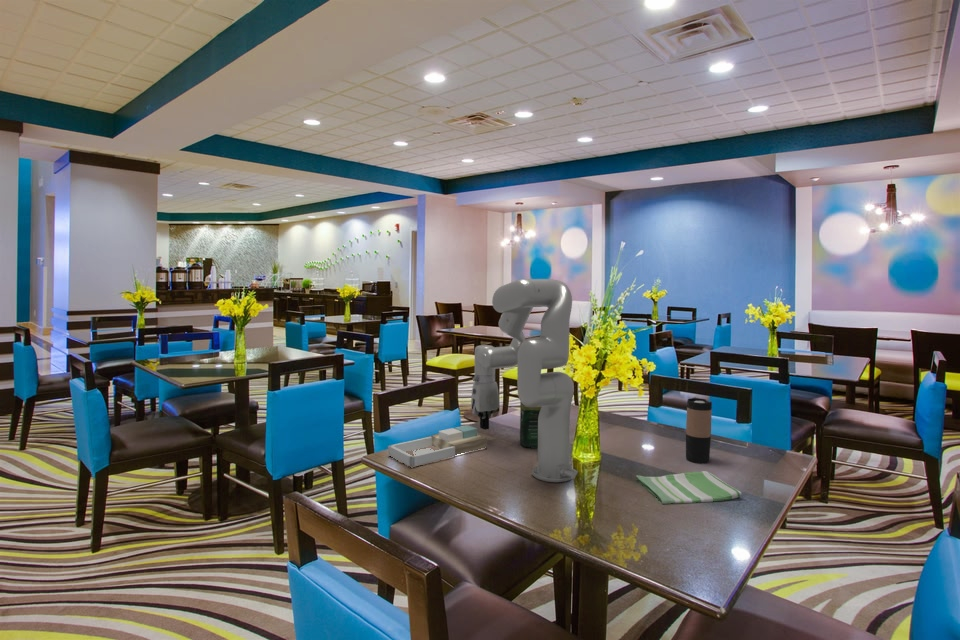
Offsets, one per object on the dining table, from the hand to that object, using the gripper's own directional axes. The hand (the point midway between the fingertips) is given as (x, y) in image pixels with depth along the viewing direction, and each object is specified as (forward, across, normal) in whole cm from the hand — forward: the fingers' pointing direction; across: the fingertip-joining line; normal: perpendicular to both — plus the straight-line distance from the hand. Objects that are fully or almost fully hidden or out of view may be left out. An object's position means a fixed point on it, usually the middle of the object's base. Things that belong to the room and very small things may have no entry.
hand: (484, 428), depth 192 cm
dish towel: (+6, +17, -70) cm, 72 cm away
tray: (+5, -27, 0) cm, 28 cm away
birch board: (+5, -12, 0) cm, 13 cm away
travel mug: (+5, +43, -59) cm, 73 cm away
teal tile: (+1, -9, 0) cm, 9 cm away
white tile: (+1, -15, 0) cm, 15 cm away
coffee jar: (+5, +11, -13) cm, 18 cm away
